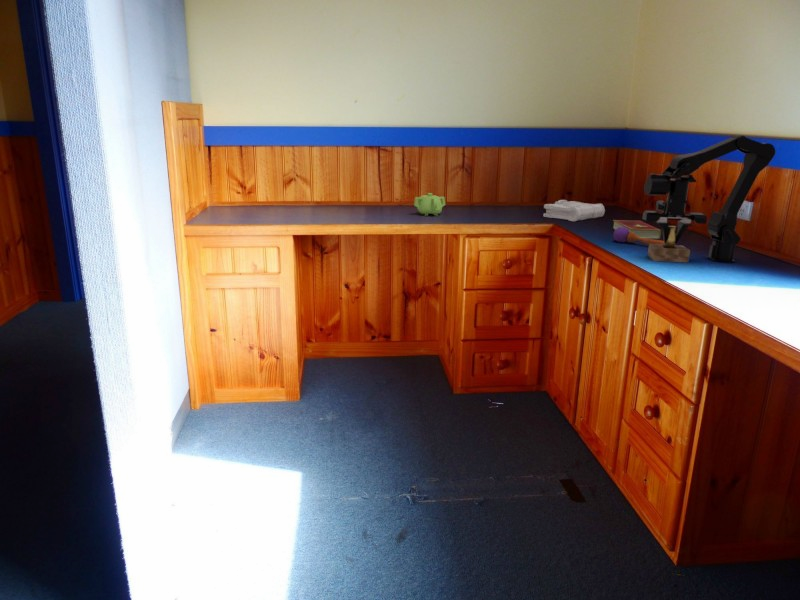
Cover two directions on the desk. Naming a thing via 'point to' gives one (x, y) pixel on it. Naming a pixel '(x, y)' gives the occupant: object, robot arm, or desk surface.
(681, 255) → the bore block
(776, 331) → the desk surface
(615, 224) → the hardcover book
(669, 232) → the brass pin
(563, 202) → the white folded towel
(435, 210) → the teapot
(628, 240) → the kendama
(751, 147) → the robot arm
